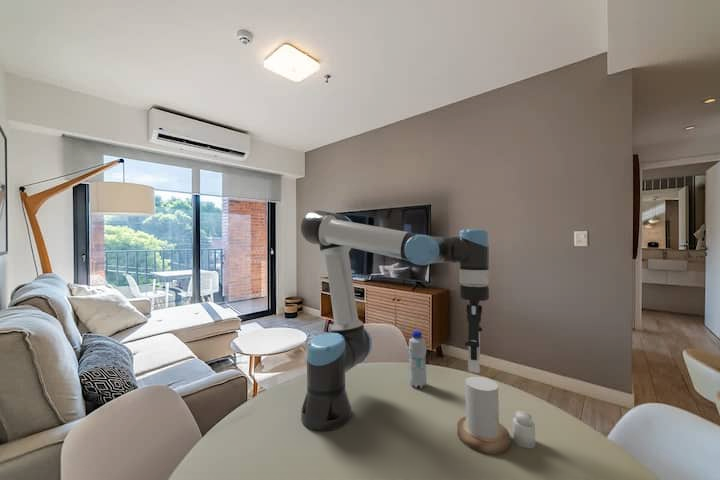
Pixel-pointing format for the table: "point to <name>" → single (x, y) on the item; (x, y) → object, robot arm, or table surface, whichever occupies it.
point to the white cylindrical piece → (482, 407)
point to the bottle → (417, 360)
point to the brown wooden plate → (484, 439)
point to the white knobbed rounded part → (524, 430)
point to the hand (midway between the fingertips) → (474, 362)
